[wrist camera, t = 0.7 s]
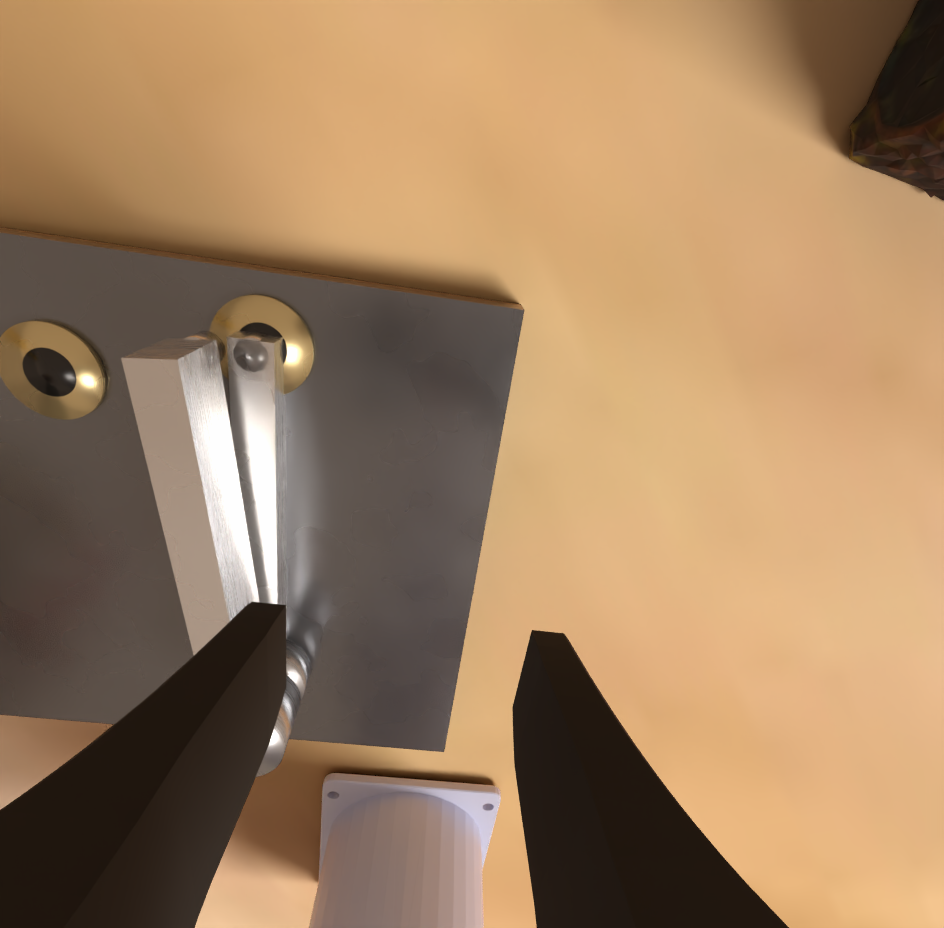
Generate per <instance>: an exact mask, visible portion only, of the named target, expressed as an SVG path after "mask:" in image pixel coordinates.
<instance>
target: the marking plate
mask: <svg viewBox="0 0 944 928" xmlns="http://www.w3.org/2000/svg"><path fill="white" fill-rule="evenodd" d="M523 314H524V309H523V307H522V305H521V304H516V303H509V302H502V301H496V300H489V299H482V298H476V297H469V296H462V295H455V294H449V293H442V292H435V291H428V290H422V289H415V288H408V287H401V286H395V285H388V284H381V283H374V282H368V281H361V280H354V279H348V278H341V277H334V276H327V275H321V274H314V273H307V272H300V271H294V270H287V269H280V268H273V267H267V266H260V265H253V264H246V263H240V262H233V261H226V260H220V259H213V258H206V257H199V256H193V255H186V254H179V253H172V252H166V251H159V250H152V249H145V248H139V247H132V246H125V245H118V244H112V243H105V242H98V241H92V240H85V239H78V238H71V237H65V236H58V235H51V234H44V233H38V232H31V231H24V230H17V229H11V228H4V227H0V715H10V716H22V717H34V718H46V719H58V720H70V721H82V722H94V723H106V724H115V723H117V722H118V721H119V720H120V719H122V718H123V717H124V716H125V715H126V714H128V713H129V712H130V711H131V710H132V709H134V708H135V707H136V706H137V705H139V704H140V703H141V702H142V701H143V700H145V699H146V698H147V697H148V696H149V695H150V694H152V693H153V692H154V691H155V690H156V689H157V688H158V687H160V686H161V685H162V684H163V683H164V682H165V681H166V680H167V679H168V678H170V677H171V676H172V675H173V674H174V673H175V672H176V671H177V670H179V669H180V668H181V667H182V666H183V665H184V664H185V663H186V662H187V661H189V660H190V659H191V658H192V657H193V656H194V655H193V651H192V647H191V642H190V638H189V634H188V630H187V626H186V622H185V618H184V614H183V610H182V606H181V601H180V597H179V593H178V589H177V585H176V581H175V577H174V573H173V569H172V565H171V560H170V556H169V552H168V548H167V544H166V540H165V536H164V532H163V528H162V524H161V520H160V515H159V511H158V507H157V503H156V499H155V495H154V491H153V487H152V483H151V479H150V474H149V470H148V466H147V462H146V458H145V454H144V450H143V446H142V442H141V438H140V433H139V429H138V425H137V421H136V417H135V413H134V409H133V405H132V401H131V397H130V393H129V388H128V384H127V380H126V376H125V372H124V368H123V364H122V360H121V358H122V357H124V356H127V355H129V354H131V353H134V352H136V351H138V350H141V349H143V348H145V347H148V346H150V345H152V344H155V343H157V342H159V341H162V340H164V339H166V338H180V339H184V338H186V337H188V336H190V335H193V334H195V333H197V332H199V331H205V330H206V331H211V332H213V333H215V334H217V335H218V336H219V337H220V338H221V339H222V340H223V342H224V344H225V348H226V353H225V357H224V358H223V360H222V361H220V366H221V372H222V378H223V384H224V390H225V396H226V402H227V408H228V414H229V420H230V426H231V433H232V439H233V445H234V451H235V457H236V463H237V469H238V475H239V481H240V487H241V493H242V499H243V505H244V511H245V518H246V524H247V530H248V536H249V542H250V548H251V554H252V560H253V566H254V572H255V578H256V584H257V590H258V596H259V602H261V603H271V604H281V605H286V675H287V676H289V677H290V678H291V679H292V680H293V681H294V682H295V684H296V685H297V687H298V689H299V691H300V695H301V703H300V707H299V710H298V713H297V716H296V719H295V722H294V725H293V728H292V731H291V734H290V737H289V739H296V740H308V741H320V742H332V743H344V744H356V745H367V746H379V747H391V748H403V749H415V750H427V751H439V752H444V749H445V744H446V738H447V733H448V727H449V722H450V716H451V711H452V705H453V700H454V694H455V689H456V683H457V678H458V672H459V667H460V661H461V656H462V650H463V645H464V639H465V634H466V628H467V623H468V617H469V612H470V606H471V601H472V595H473V590H474V584H475V579H476V573H477V568H478V562H479V557H480V551H481V546H482V540H483V535H484V529H485V524H486V518H487V512H488V507H489V501H490V496H491V490H492V485H493V479H494V474H495V468H496V463H497V457H498V452H499V446H500V441H501V435H502V430H503V424H504V419H505V413H506V408H507V402H508V397H509V391H510V386H511V380H512V375H513V369H514V364H515V358H516V353H517V347H518V342H519V336H520V331H521V325H522V320H523Z"/></svg>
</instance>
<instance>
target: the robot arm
mask: <svg viewBox="0 0 944 928" xmlns="http://www.w3.org/2000/svg"><path fill="white" fill-rule="evenodd" d="M285 690H286V605H281V604H271V603H261V602H251V603H249V604H248V605H246V606H245V607H244V608H243V609H242V610H241V611H240V612H239V613H238V614H237V615H236V616H235V617H234V618H233V619H232V620H231V621H230V622H229V623H228V624H227V625H226V626H225V627H224V628H223V629H222V630H220V631H219V632H218V633H217V634H216V635H215V636H214V637H213V638H212V639H211V640H210V641H209V642H208V643H207V644H206V645H205V646H204V647H203V648H201V649H200V650H199V651H198V652H197V653H196V654H195V655H194V656H193V657H192V658H191V659H190V660H189V661H187V662H186V663H185V664H184V665H183V666H182V667H181V668H180V669H179V670H177V671H176V672H175V673H174V674H173V675H172V676H171V677H170V678H168V679H167V680H166V681H165V682H164V683H163V684H162V685H161V686H160V687H158V688H157V689H156V690H155V691H154V692H153V693H152V694H150V695H149V696H148V697H147V698H146V699H145V700H143V701H142V702H141V703H140V704H139V705H137V706H136V707H135V708H134V709H132V710H131V711H130V712H129V713H128V714H126V715H125V716H124V717H123V718H122V719H120V720H119V721H118V722H117V723H115V724H114V725H113V726H112V727H111V728H109V729H108V730H107V731H106V732H105V733H103V734H102V735H101V736H100V737H98V738H97V739H96V740H95V741H93V742H92V743H91V744H90V745H88V746H87V747H86V748H84V749H83V750H82V751H80V752H79V753H78V754H77V755H75V756H74V757H73V758H71V759H70V760H69V761H67V762H66V763H65V764H63V765H62V766H61V767H59V768H58V769H57V770H55V771H54V772H53V773H51V774H50V775H49V776H47V777H46V778H45V779H43V780H42V781H40V782H39V783H38V784H36V785H35V786H34V787H32V788H31V789H29V790H28V791H27V792H25V793H24V794H23V795H21V796H20V797H18V798H17V799H15V800H14V801H13V802H11V803H10V804H8V805H7V806H5V807H4V808H2V809H1V810H0V928H195V925H196V922H197V919H198V916H199V913H200V911H201V908H202V906H203V903H204V900H205V898H206V895H207V892H208V890H209V887H210V885H211V882H212V880H213V877H214V875H215V873H216V870H217V868H218V865H219V863H220V861H221V858H222V856H223V854H224V851H225V849H226V846H227V844H228V842H229V839H230V837H231V835H232V832H233V830H234V827H235V825H236V823H237V820H238V818H239V816H240V813H241V811H242V808H243V806H244V804H245V801H246V799H247V797H248V794H249V792H250V789H251V787H252V785H253V782H254V780H255V777H256V775H257V773H258V770H259V768H260V765H261V763H262V761H263V758H264V756H265V753H266V751H267V748H268V746H269V743H270V740H271V737H272V734H273V730H274V727H275V724H276V721H277V717H278V714H279V711H280V707H281V704H282V700H283V697H284V693H285ZM513 739H514V762H515V771H516V779H517V786H518V793H519V800H520V807H521V815H522V822H523V828H524V835H525V842H526V849H527V856H528V863H529V870H530V877H531V884H532V891H533V898H534V906H535V915H536V924H537V928H789V927H788V926H787V925H786V924H785V923H784V922H783V921H782V920H781V919H780V918H779V917H778V916H777V915H776V914H775V913H774V912H773V911H772V910H771V909H770V907H769V906H768V905H767V904H766V903H765V902H764V901H763V900H762V899H761V898H760V897H759V896H758V895H757V894H756V893H755V892H754V891H753V890H752V889H751V888H750V887H749V886H748V885H747V883H746V882H745V881H744V880H743V879H742V878H741V877H740V876H739V874H738V873H737V872H736V871H735V870H734V869H733V868H732V866H731V865H730V864H729V863H728V862H727V861H726V860H725V859H724V857H723V856H722V855H721V854H720V853H719V852H718V851H717V849H716V848H715V847H714V846H713V845H712V843H711V842H710V841H709V840H708V839H707V837H706V836H705V835H704V834H703V833H702V832H701V830H700V829H699V828H698V827H697V826H696V824H695V823H694V822H693V821H692V819H691V818H690V817H689V816H688V814H687V813H686V812H685V811H684V809H683V808H682V807H681V806H680V804H679V803H678V802H677V801H676V799H675V798H674V797H673V795H672V794H671V793H670V792H669V790H668V789H667V788H666V786H665V785H664V784H663V782H662V781H661V780H660V778H659V777H658V776H657V774H656V773H655V771H654V770H653V769H652V767H651V766H650V765H649V763H648V762H647V761H646V759H645V758H644V756H643V755H642V754H641V752H640V751H639V749H638V748H637V747H636V745H635V744H634V742H633V741H632V739H631V738H630V736H629V735H628V733H627V732H626V730H625V729H624V728H623V726H622V725H621V723H620V722H619V720H618V719H617V717H616V716H615V714H614V713H613V711H612V710H611V708H610V707H609V705H608V704H607V702H606V700H605V699H604V697H603V696H602V694H601V693H600V691H599V689H598V688H597V686H596V685H595V683H594V681H593V680H592V678H591V677H590V675H589V673H588V672H587V670H586V668H585V667H584V665H583V663H582V662H581V660H580V658H579V657H578V655H577V653H576V652H575V650H574V648H573V647H572V645H571V643H570V642H569V640H568V638H567V637H566V636H565V634H564V633H554V632H544V631H535V630H532V632H531V636H530V640H529V644H528V648H527V652H526V656H525V660H524V664H523V668H522V672H521V676H520V680H519V684H518V688H517V692H516V696H515V700H514V704H513ZM500 801H501V797H500V790H499V788H497V787H495V786H492V785H482V784H470V783H457V782H445V781H432V780H420V779H407V778H395V777H382V776H369V775H357V774H344V773H331V774H328V775H327V776H325V779H324V782H323V787H322V812H321V837H320V862H319V883H318V888H317V893H316V897H315V902H314V906H313V911H312V916H311V920H310V925H309V928H484V921H483V886H482V869H483V865H484V861H485V857H486V854H487V850H488V846H489V842H490V839H491V835H492V831H493V827H494V823H495V820H496V816H497V812H498V808H499V804H500Z"/></svg>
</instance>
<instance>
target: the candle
mask: <svg viewBox="0 0 944 928" xmlns="http://www.w3.org/2000/svg"><path fill="white" fill-rule="evenodd" d="M850 129H851V140H850V153H849V159H851V160H853V161H854V162H856V163H858V164H860V165H861V166H863V167H866V168H869V169H872V170H875V171H878V172H881V173H883V174H886V175H889V176H891V177H894V178H896V179H898V180H901V181H903V182H906V183H908V184H911V185H914V186H917V187H920V188H923V189H924V190H925V191H926V192H927V194H928V195H929V196H930V197H932V196H934V195H935V196H937V197H939V198H940V199H942V200H944V0H919V1H918V3H917V6H916V8H915V10H914V12H913V14H912V16H911V18H910V21H909V23H908V25H907V27H906V28H905V30H904V31H903V33H902V35H901V36H900V38H899V39H898V41H897V43H896V45H895V47H894V49H893V51H892V53H891V54H890V56H889V58H888V60H887V62H886V64H885V66H884V68H883V70H882V72H881V74H880V76H879V78H878V80H877V83H876V85H875V87H874V90H873V92H872V94H871V97H870V99H869V101H868V104H867V105H866V106H865V108H864V109H863V110H862V111H861V112H860V114H859V115H858V116H857V117H856V119H855V120H854V121H853V123H852V124H851V125H850Z"/></svg>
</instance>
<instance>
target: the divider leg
mask: <svg viewBox="0 0 944 928" xmlns="http://www.w3.org/2000/svg"><path fill="white" fill-rule="evenodd" d="M225 353H226V348H225V344H224V342H223V340H222V339H221V338H220V337H219V336H218V335H217V334H215V333H213V332H211V331H206V330H205V331H199V332H197V333H195V334H193V335H190V336H188V337H186V338H184V339H180V338H166V339H164V340H162V341H159V342H157V343H155V344H152V345H150V346H148V347H145V348H143V349H141V350H138V351H136V352H134V353H131V354H129V355H127V356H124V357H122V358H121V360H122V364H123V368H124V372H125V376H126V380H127V384H128V388H129V393H130V397H131V401H132V405H133V409H134V413H135V417H136V421H137V425H138V429H139V433H140V438H141V442H142V446H143V450H144V454H145V458H146V462H147V466H148V470H149V474H150V479H151V483H152V487H153V491H154V495H155V499H156V503H157V507H158V511H159V515H160V520H161V524H162V528H163V532H164V536H165V540H166V544H167V548H168V552H169V556H170V560H171V565H172V569H173V573H174V577H175V581H176V585H177V589H178V593H179V597H180V601H181V606H182V610H183V614H184V618H185V622H186V626H187V630H188V634H189V638H190V642H191V647H192V651H193V655H195V654H196V653H197V652H198V651H199V650H200V649H201V648H203V647H204V646H205V645H206V644H207V643H208V642H209V641H210V640H211V639H212V638H213V637H214V636H215V635H216V634H217V633H218V632H219V631H220V630H222V629H223V628H224V627H225V626H226V625H227V624H228V623H229V622H230V621H231V620H232V619H233V618H234V617H235V616H236V615H237V614H238V613H239V612H240V611H241V610H242V609H243V608H244V607H245V606H246V605H248V604H249V603H251V602H259V596H258V590H257V584H256V578H255V572H254V566H253V560H252V554H251V548H250V542H249V536H248V530H247V524H246V518H245V511H244V505H243V499H242V493H241V487H240V481H239V475H238V469H237V463H236V457H235V451H234V445H233V439H232V433H231V426H230V420H229V414H228V408H227V402H226V396H225V390H224V384H223V378H222V372H221V366H220V361H222V360H223V358H224V357H225ZM300 703H301V695H300V691H299V689H298V687H297V685H296V684H295V682H294V681H293V680H292V679H291V678H290V677H289V676H287V675H286V690H285V693H284V697H283V700H282V704H281V707H280V711H279V714H278V717H277V721H276V724H275V727H274V730H273V734H272V737H271V740H270V743H269V746H268V748H267V751H266V753H265V756H264V758H263V761H262V763H261V765H260V768H259V770H258V773H257V775H256V777H258V776H262V775H265V774H267V773H269V772H271V771H272V770H274V769H275V768H276V767H277V766H278V765H279V764H280V762H281V760H282V758H283V755H284V752H285V749H286V746H287V743H288V740H289V737H290V734H291V731H292V728H293V725H294V722H295V719H296V716H297V713H298V710H299V707H300Z"/></svg>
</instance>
